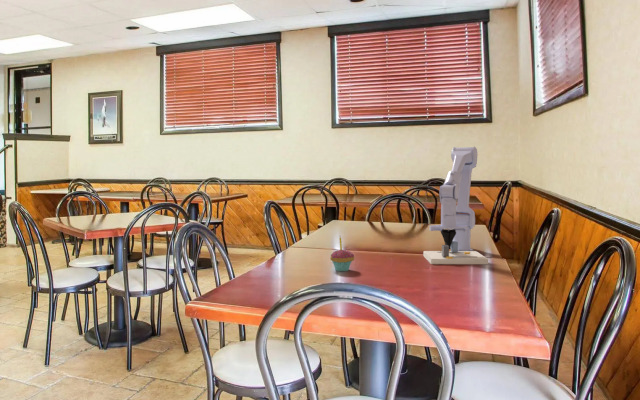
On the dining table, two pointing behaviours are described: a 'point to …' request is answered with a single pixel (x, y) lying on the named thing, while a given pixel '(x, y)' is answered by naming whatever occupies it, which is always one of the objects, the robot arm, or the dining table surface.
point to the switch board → (455, 257)
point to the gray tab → (445, 250)
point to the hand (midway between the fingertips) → (447, 248)
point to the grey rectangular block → (454, 246)
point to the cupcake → (342, 259)
